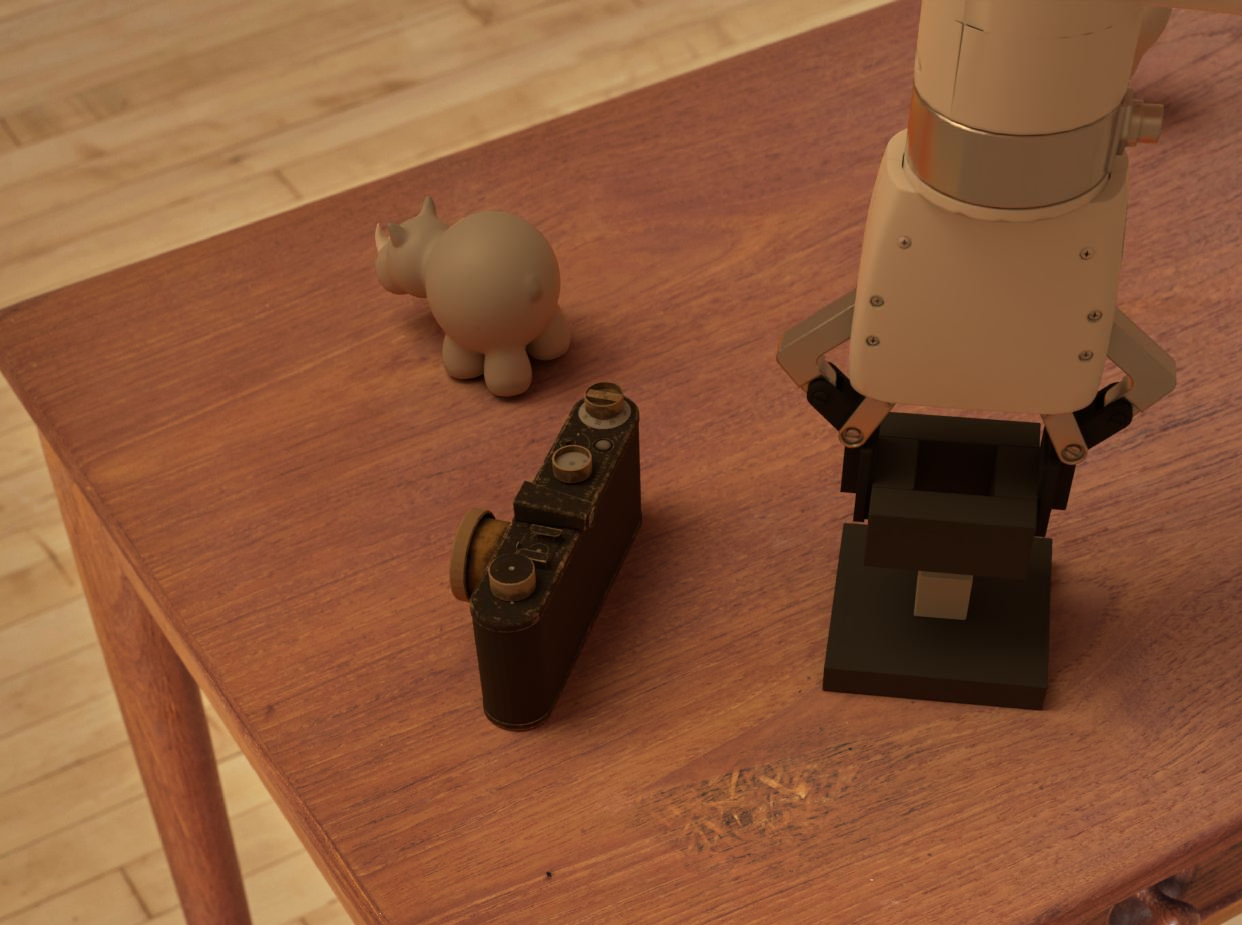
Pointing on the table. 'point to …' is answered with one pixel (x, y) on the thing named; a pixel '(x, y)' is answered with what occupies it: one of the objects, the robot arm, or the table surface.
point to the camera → (551, 558)
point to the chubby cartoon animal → (480, 291)
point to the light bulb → (1150, 31)
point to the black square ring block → (954, 495)
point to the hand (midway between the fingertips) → (950, 506)
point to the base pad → (939, 631)
